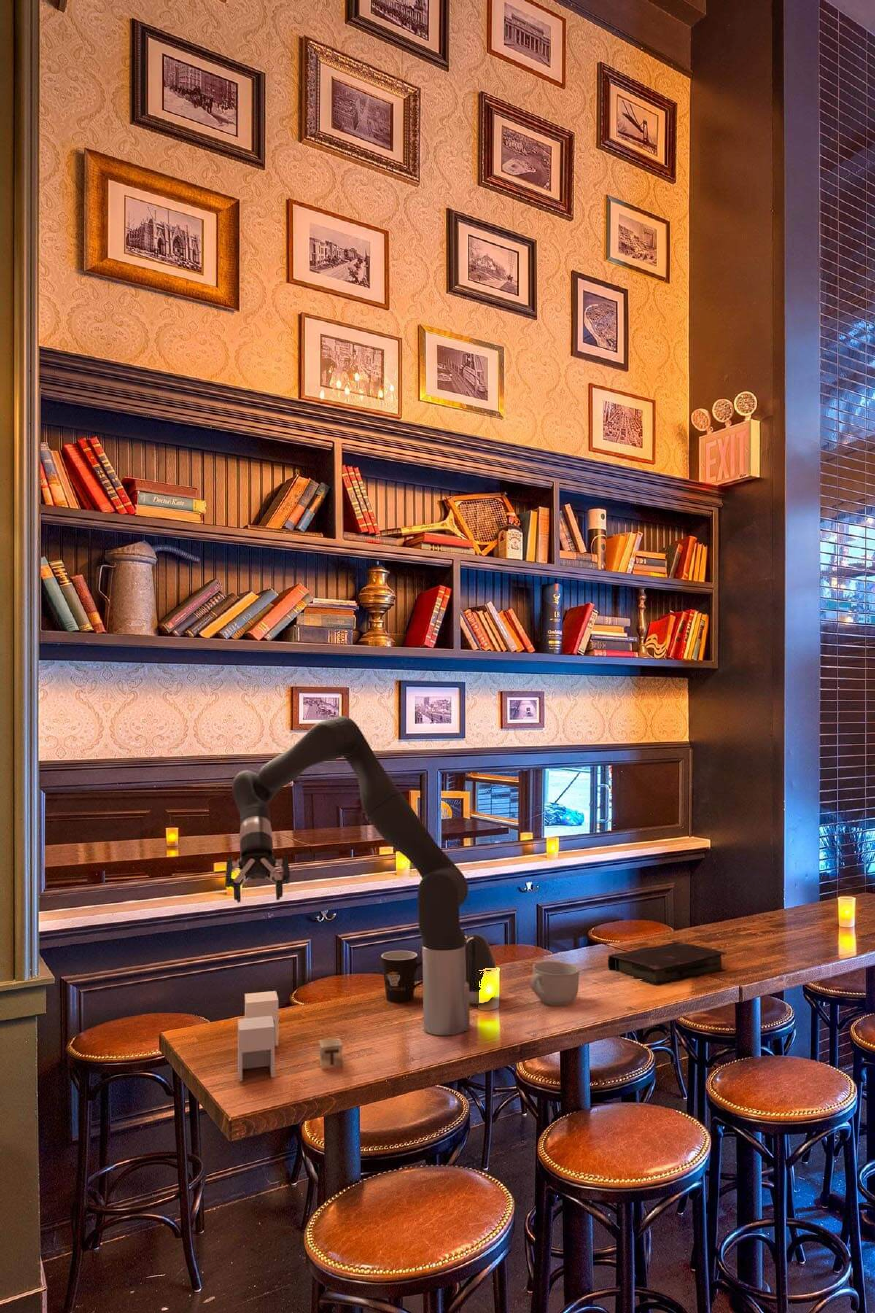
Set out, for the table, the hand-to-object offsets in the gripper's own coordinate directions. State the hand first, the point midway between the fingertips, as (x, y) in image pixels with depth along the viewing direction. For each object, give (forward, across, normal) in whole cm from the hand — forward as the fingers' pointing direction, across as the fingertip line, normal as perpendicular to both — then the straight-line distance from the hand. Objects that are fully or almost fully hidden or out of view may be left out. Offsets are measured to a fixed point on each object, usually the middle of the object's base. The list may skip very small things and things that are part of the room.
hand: (258, 899), depth 188 cm
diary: (+13, +105, +26) cm, 109 cm away
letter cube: (+38, +12, -1) cm, 40 cm away
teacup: (+24, +66, +14) cm, 72 cm away
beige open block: (+27, 0, +11) cm, 29 cm away
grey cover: (+38, -2, -1) cm, 38 cm away
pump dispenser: (+19, +50, +19) cm, 57 cm away
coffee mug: (+14, +34, +24) cm, 44 cm away
